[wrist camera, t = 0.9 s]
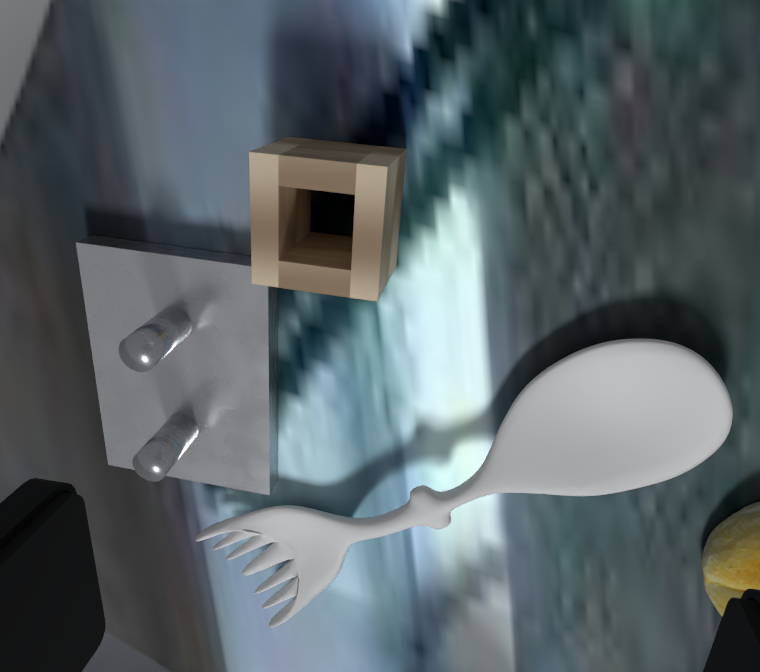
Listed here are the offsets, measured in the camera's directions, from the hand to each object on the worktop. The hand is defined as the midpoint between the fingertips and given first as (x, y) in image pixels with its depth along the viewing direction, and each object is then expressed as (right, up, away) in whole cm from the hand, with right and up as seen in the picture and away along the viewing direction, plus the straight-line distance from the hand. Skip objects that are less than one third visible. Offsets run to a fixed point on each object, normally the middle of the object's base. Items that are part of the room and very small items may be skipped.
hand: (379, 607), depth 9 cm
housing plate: (-11, +2, +29) cm, 31 cm away
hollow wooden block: (-2, +11, +23) cm, 25 cm away
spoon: (+4, -4, +29) cm, 30 cm away
